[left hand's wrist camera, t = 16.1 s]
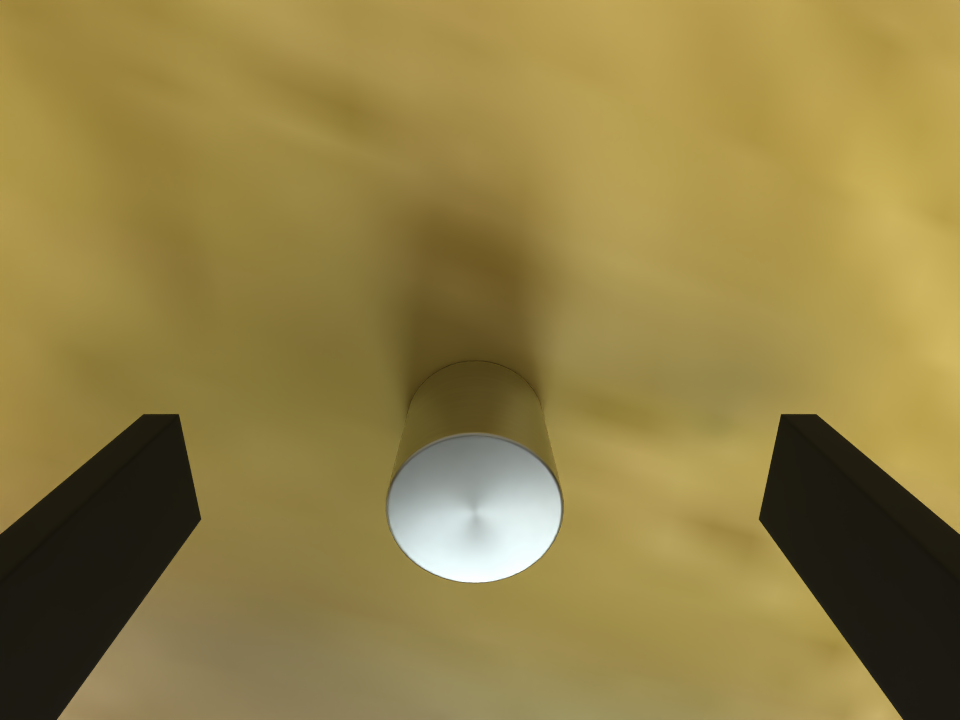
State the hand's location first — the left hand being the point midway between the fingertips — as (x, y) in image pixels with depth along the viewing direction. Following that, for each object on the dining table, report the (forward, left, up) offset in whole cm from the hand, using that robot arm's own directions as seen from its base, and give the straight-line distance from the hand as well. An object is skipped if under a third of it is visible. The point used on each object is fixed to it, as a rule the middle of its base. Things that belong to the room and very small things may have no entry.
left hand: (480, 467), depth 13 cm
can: (0, 0, -3) cm, 3 cm away
